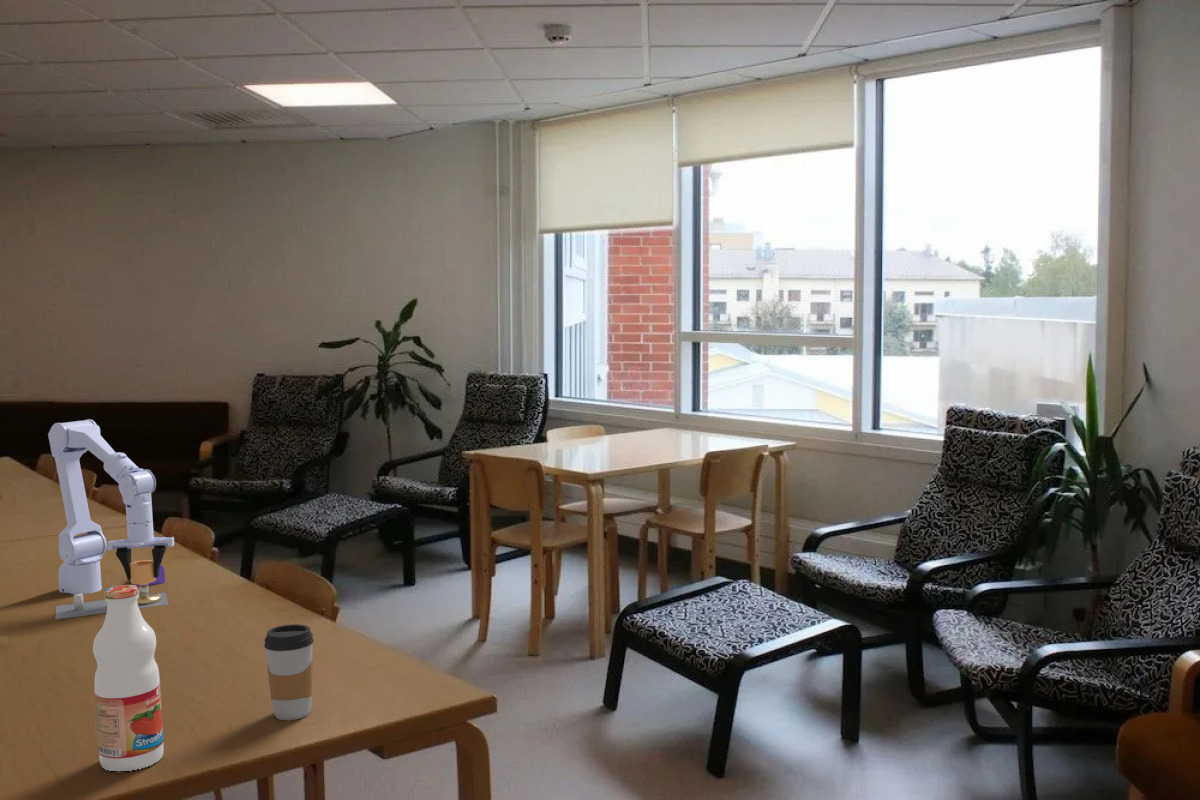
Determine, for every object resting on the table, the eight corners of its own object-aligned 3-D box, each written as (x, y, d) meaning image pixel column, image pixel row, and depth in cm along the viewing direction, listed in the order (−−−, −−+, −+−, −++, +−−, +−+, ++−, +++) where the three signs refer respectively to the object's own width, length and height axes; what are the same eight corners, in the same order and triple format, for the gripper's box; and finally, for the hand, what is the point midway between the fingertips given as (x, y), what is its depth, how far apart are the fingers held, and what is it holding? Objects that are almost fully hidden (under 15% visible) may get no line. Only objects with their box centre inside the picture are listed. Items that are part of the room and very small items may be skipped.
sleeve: (125, 583, 255) (124, 564, 254) (142, 577, 260) (141, 559, 259) (144, 585, 253) (142, 566, 252) (160, 579, 258) (159, 560, 257)
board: (55, 625, 243) (54, 604, 243) (56, 612, 254) (55, 591, 254) (168, 610, 254) (167, 589, 253) (165, 598, 264) (164, 578, 264)
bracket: (165, 589, 274) (163, 563, 273) (136, 594, 270) (134, 567, 270) (158, 579, 284) (156, 554, 284) (130, 583, 281) (128, 557, 280)
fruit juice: (113, 749, 174) (102, 581, 172) (172, 747, 175) (162, 579, 172) (89, 775, 165) (77, 597, 162) (152, 772, 165) (141, 595, 163)
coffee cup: (273, 706, 192) (269, 624, 190) (320, 703, 193) (317, 622, 191) (262, 724, 184) (258, 639, 182) (312, 721, 184) (308, 636, 183)
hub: (121, 604, 255) (120, 582, 254) (143, 595, 261) (142, 575, 261) (145, 606, 252) (144, 584, 252) (167, 598, 259) (166, 577, 259)
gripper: (102, 526, 250) (106, 583, 251) (168, 523, 252) (171, 579, 254) (110, 520, 257) (114, 576, 258) (174, 517, 259) (177, 572, 261)
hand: (143, 577), depth 256 cm, fingers closed on sleeve, 5 cm apart
